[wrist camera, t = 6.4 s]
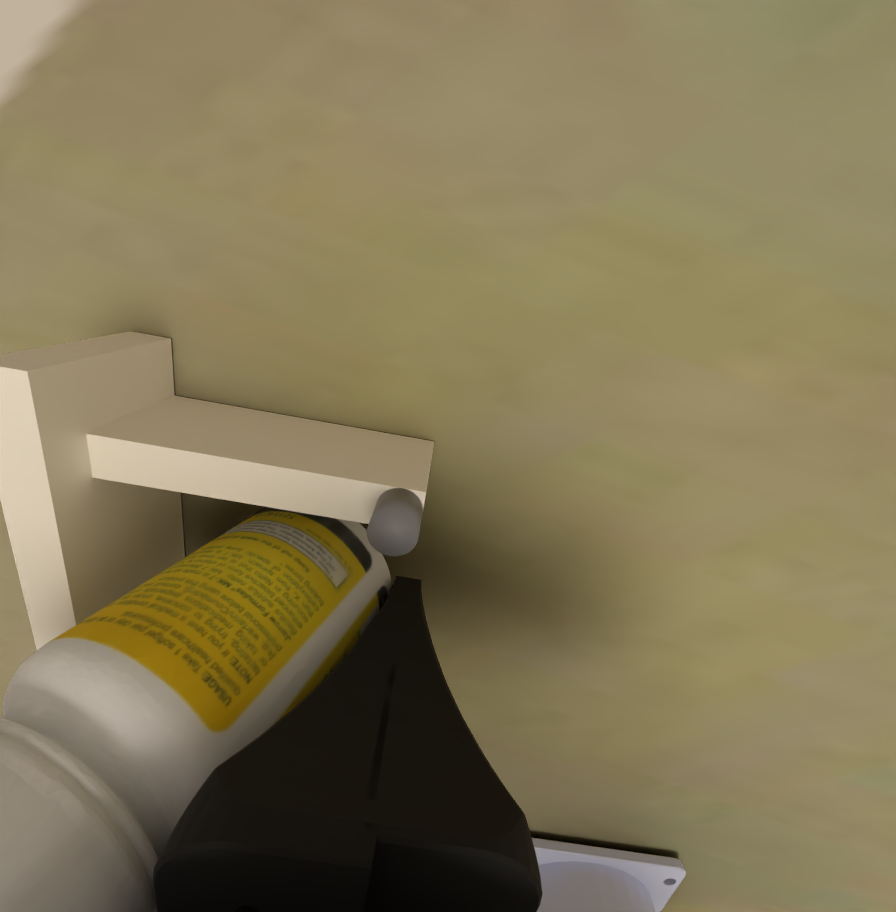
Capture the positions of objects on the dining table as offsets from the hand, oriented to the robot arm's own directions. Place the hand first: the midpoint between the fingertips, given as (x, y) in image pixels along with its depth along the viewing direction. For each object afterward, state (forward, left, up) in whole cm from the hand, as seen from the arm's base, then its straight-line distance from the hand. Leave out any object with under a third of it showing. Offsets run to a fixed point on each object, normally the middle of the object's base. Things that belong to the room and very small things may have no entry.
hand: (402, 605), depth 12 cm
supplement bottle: (0, +2, -1) cm, 3 cm away
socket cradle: (0, +3, -1) cm, 4 cm away
